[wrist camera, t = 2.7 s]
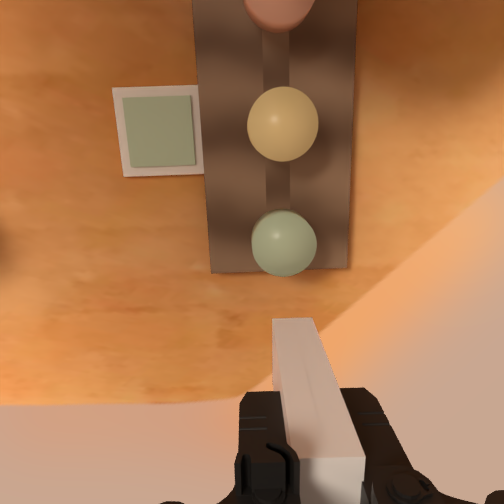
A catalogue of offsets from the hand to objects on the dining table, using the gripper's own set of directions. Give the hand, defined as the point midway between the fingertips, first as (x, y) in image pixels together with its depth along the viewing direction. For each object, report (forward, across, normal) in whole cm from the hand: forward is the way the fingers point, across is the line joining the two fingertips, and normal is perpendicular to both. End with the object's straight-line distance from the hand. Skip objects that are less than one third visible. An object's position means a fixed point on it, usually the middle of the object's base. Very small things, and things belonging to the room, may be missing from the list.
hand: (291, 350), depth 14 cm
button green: (+19, +1, 0) cm, 19 cm away
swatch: (+20, -9, +9) cm, 24 cm away
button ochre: (+19, +1, +9) cm, 21 cm away
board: (+21, +1, +9) cm, 22 cm away
